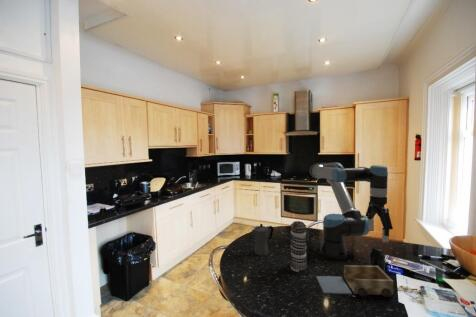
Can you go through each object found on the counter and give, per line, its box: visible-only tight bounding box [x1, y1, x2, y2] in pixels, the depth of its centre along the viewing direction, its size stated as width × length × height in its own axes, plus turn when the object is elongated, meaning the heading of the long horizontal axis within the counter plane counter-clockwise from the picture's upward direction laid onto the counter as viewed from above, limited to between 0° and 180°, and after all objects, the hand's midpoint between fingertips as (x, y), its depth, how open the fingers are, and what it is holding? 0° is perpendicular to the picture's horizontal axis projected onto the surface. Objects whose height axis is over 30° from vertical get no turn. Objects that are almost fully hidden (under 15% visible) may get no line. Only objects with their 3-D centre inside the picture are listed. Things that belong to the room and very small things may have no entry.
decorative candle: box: [289, 220, 308, 273], centre depth 119 cm, size 9×9×25 cm
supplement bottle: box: [369, 245, 386, 273], centre depth 115 cm, size 7×7×12 cm
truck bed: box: [343, 264, 394, 298], centre depth 102 cm, size 16×15×7 cm
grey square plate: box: [315, 275, 353, 295], centre depth 104 cm, size 1×12×12 cm
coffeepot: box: [251, 223, 275, 256], centre depth 138 cm, size 15×9×18 cm, turn 113°
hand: (377, 236), depth 114 cm, fingers open, 13 cm apart
